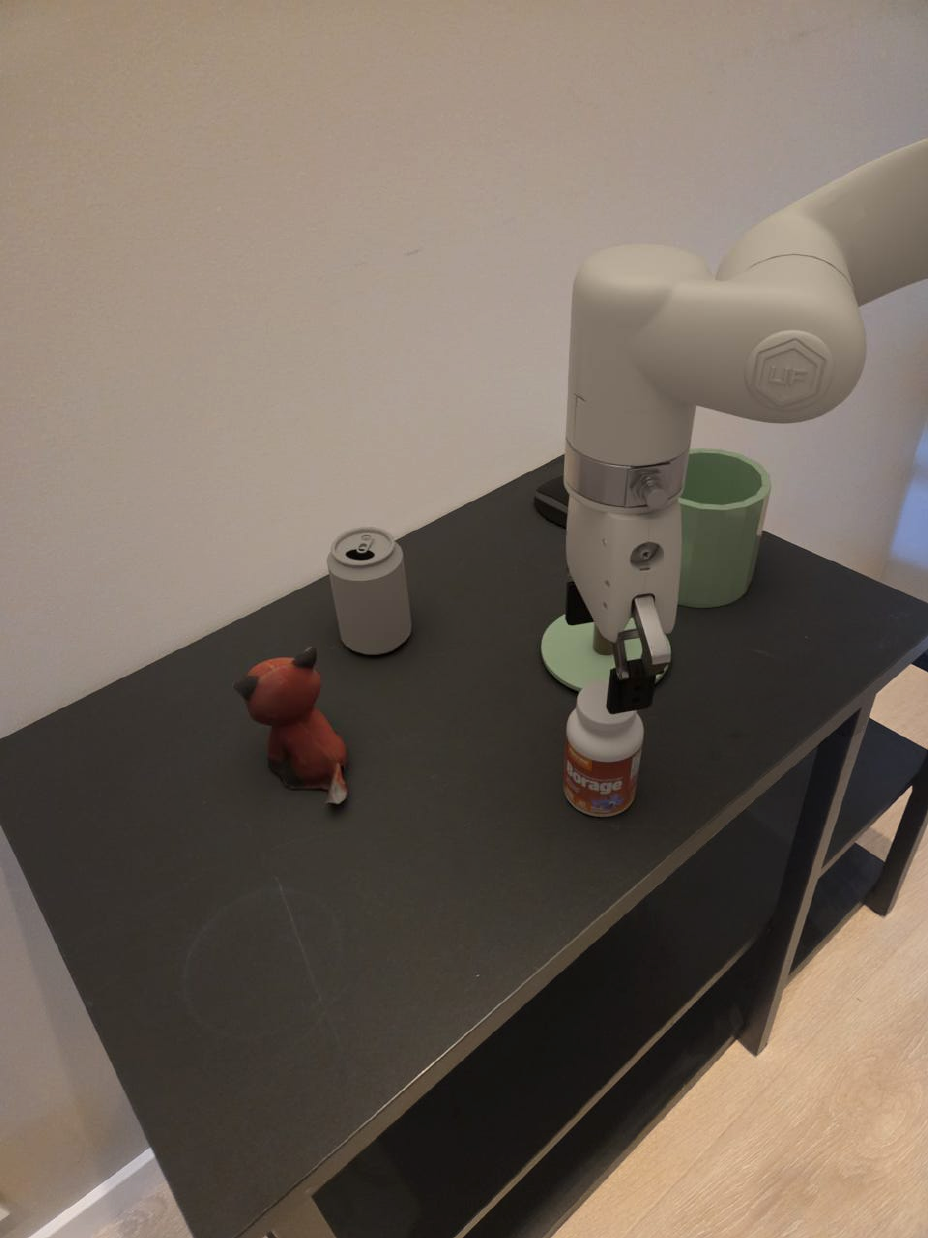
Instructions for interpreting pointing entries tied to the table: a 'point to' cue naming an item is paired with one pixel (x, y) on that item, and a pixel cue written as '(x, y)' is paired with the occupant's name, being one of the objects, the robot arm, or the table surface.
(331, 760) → the stuffed fox
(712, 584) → the pot
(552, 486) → the computer mouse
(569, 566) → the robot arm
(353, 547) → the can
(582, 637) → the lid
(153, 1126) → the table surface
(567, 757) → the pill bottle
